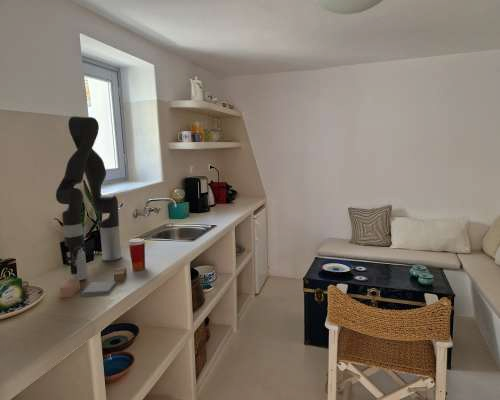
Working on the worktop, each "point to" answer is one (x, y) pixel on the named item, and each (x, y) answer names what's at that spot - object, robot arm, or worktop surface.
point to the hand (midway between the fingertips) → (78, 270)
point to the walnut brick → (120, 274)
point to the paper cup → (137, 253)
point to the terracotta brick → (70, 288)
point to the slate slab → (99, 288)
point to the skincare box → (80, 268)
